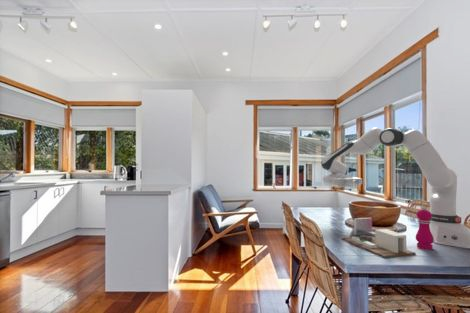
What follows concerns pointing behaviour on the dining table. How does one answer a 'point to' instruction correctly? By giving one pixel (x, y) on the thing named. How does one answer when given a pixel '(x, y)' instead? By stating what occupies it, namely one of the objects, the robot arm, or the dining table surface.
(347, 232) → the dining table surface
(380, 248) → the board
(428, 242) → the pepper mill
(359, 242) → the gauge scale
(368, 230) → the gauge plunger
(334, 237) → the dining table surface
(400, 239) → the block
